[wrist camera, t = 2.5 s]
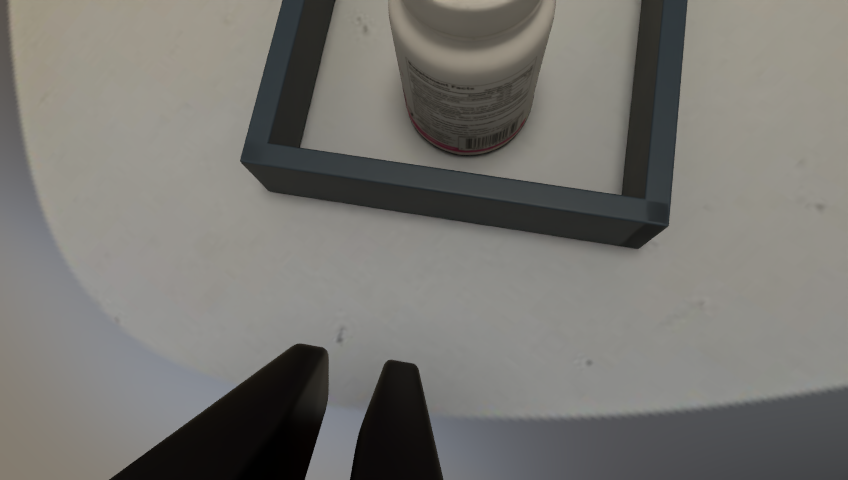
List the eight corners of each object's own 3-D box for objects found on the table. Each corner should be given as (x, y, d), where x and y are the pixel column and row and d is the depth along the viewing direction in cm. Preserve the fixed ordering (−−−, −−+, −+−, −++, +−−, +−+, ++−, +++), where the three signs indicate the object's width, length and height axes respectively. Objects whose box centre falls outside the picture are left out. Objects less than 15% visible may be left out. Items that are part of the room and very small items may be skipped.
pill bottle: (430, 29, 23) (416, -165, 15) (546, 64, 23) (598, -120, 14) (386, 136, 22) (346, -10, 14) (507, 175, 22) (539, 46, 13)
